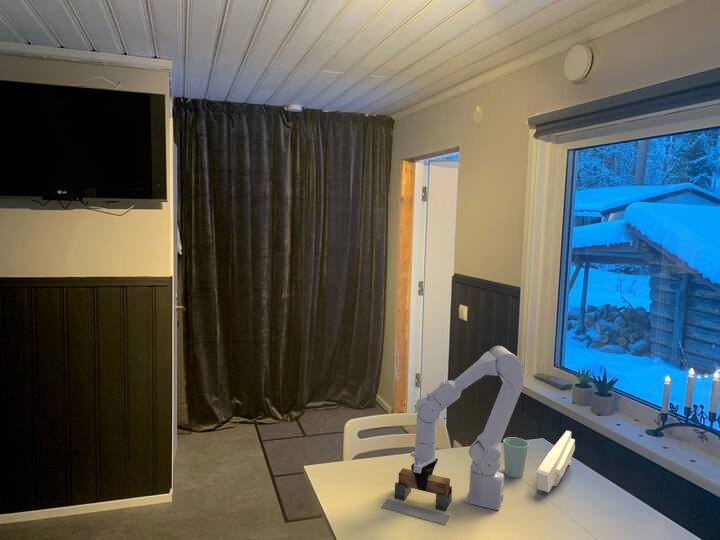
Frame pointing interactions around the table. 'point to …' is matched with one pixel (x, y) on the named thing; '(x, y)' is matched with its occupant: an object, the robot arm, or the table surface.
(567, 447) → the shelf bracket
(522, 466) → the cup
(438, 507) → the post
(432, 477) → the rail
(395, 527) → the table surface
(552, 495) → the table surface
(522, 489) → the table surface
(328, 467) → the table surface
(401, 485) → the post
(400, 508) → the mat
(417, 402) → the robot arm
